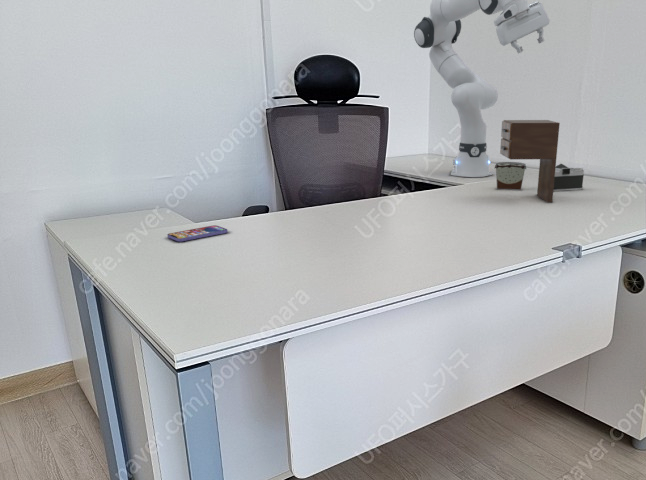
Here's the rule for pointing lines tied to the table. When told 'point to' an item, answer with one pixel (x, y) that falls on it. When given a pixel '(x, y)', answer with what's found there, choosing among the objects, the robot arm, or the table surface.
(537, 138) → the drawer unit
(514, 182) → the food container
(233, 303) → the table surface
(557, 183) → the camera
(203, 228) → the smartphone
